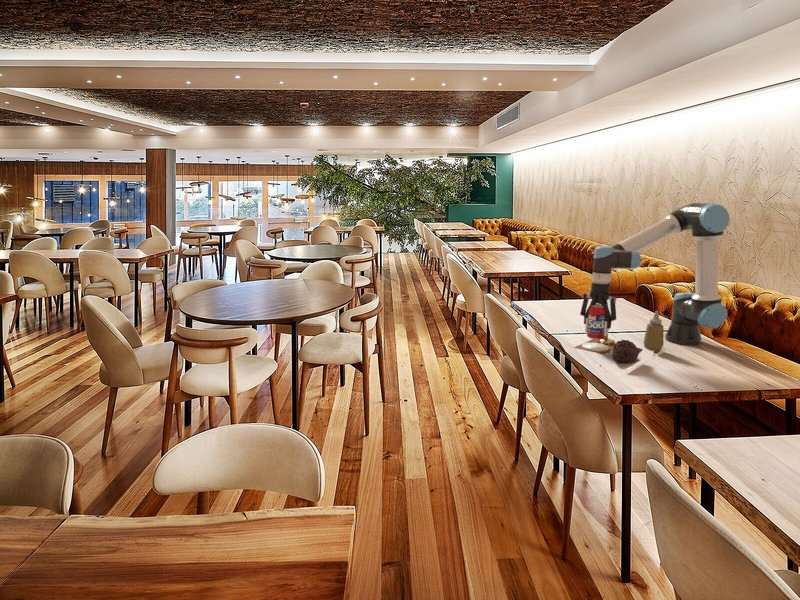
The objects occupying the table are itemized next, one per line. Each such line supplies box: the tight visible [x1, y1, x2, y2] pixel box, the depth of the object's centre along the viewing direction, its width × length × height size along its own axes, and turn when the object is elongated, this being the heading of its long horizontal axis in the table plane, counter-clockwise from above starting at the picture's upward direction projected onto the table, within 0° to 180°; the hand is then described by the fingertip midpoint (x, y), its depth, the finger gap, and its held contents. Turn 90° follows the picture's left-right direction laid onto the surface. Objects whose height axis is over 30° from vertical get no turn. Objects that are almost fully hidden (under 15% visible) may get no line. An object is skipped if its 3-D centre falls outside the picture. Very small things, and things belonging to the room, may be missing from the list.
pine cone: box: [611, 339, 643, 364], centre depth 218 cm, size 18×10×10 cm, turn 126°
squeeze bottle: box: [643, 310, 665, 354], centre depth 235 cm, size 8×8×18 cm
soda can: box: [586, 303, 607, 340], centre depth 234 cm, size 8×8×15 cm
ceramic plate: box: [581, 342, 609, 352], centre depth 236 cm, size 11×11×1 cm
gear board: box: [573, 339, 617, 356], centre depth 239 cm, size 14×22×2 cm, turn 136°
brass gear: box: [597, 334, 615, 346], centre depth 243 cm, size 8×8×4 cm
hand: (596, 333), depth 235 cm, fingers closed on soda can, 8 cm apart
